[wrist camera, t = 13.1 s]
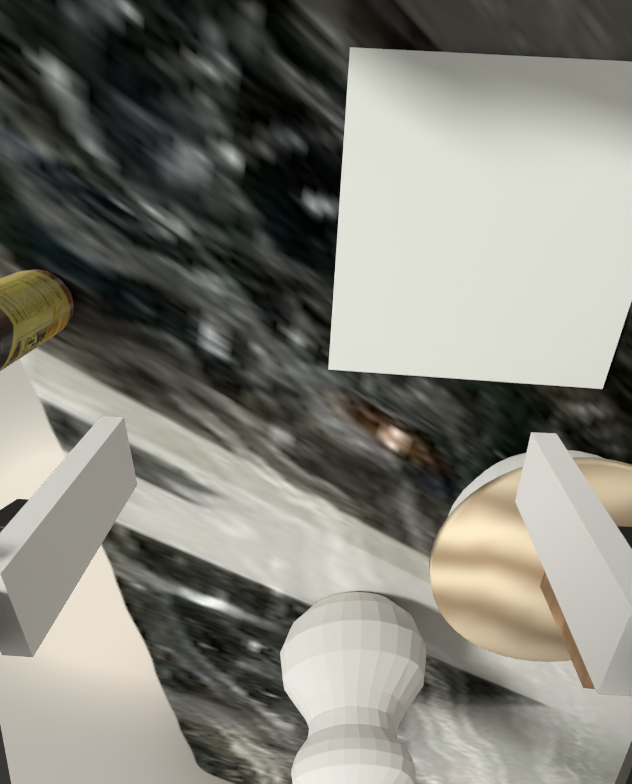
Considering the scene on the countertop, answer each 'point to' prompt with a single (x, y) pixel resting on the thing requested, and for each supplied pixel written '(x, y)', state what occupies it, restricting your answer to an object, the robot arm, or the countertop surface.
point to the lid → (512, 569)
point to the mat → (484, 217)
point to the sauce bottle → (31, 312)
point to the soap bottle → (353, 688)
